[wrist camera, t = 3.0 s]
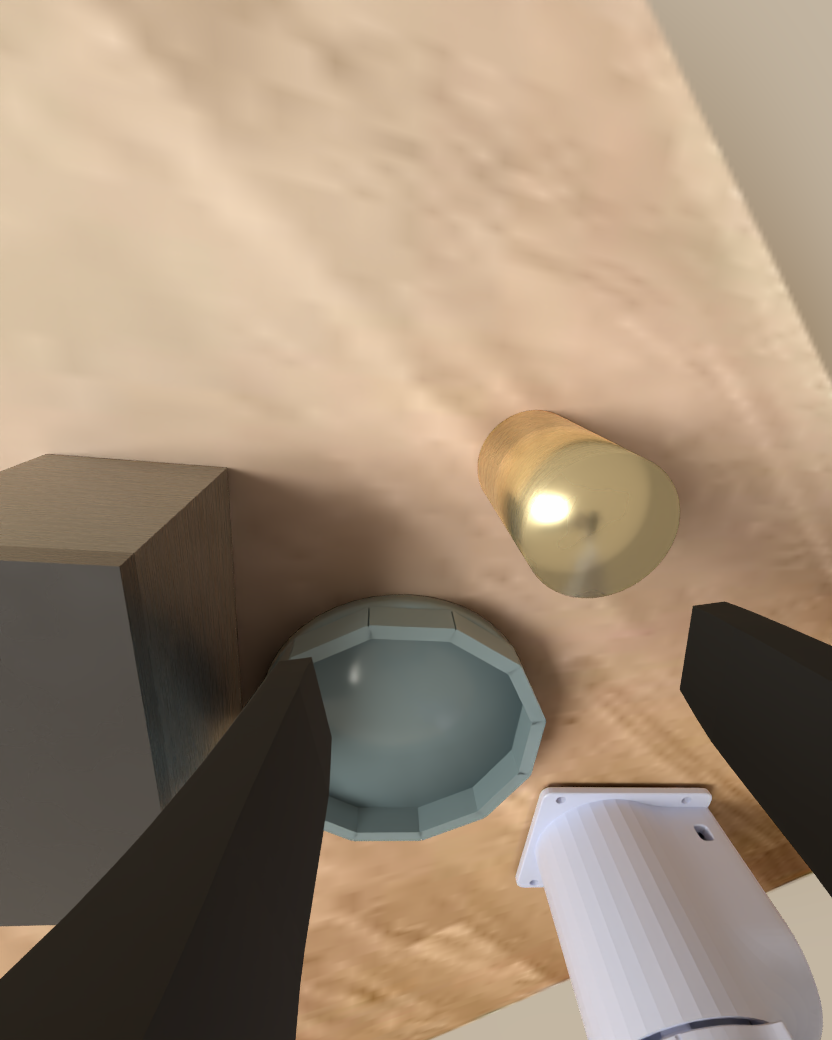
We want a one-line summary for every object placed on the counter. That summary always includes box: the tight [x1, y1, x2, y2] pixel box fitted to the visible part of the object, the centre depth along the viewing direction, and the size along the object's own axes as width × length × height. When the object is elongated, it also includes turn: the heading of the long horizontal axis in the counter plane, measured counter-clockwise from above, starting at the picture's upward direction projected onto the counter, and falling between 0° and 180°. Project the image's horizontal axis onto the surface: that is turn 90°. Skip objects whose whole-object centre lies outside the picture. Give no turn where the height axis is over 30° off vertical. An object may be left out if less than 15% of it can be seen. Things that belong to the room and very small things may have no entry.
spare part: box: [478, 410, 680, 598], centre depth 14 cm, size 4×4×6 cm
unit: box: [0, 454, 242, 926], centre depth 15 cm, size 6×12×8 cm, turn 174°
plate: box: [256, 595, 546, 841], centre depth 20 cm, size 12×12×2 cm
